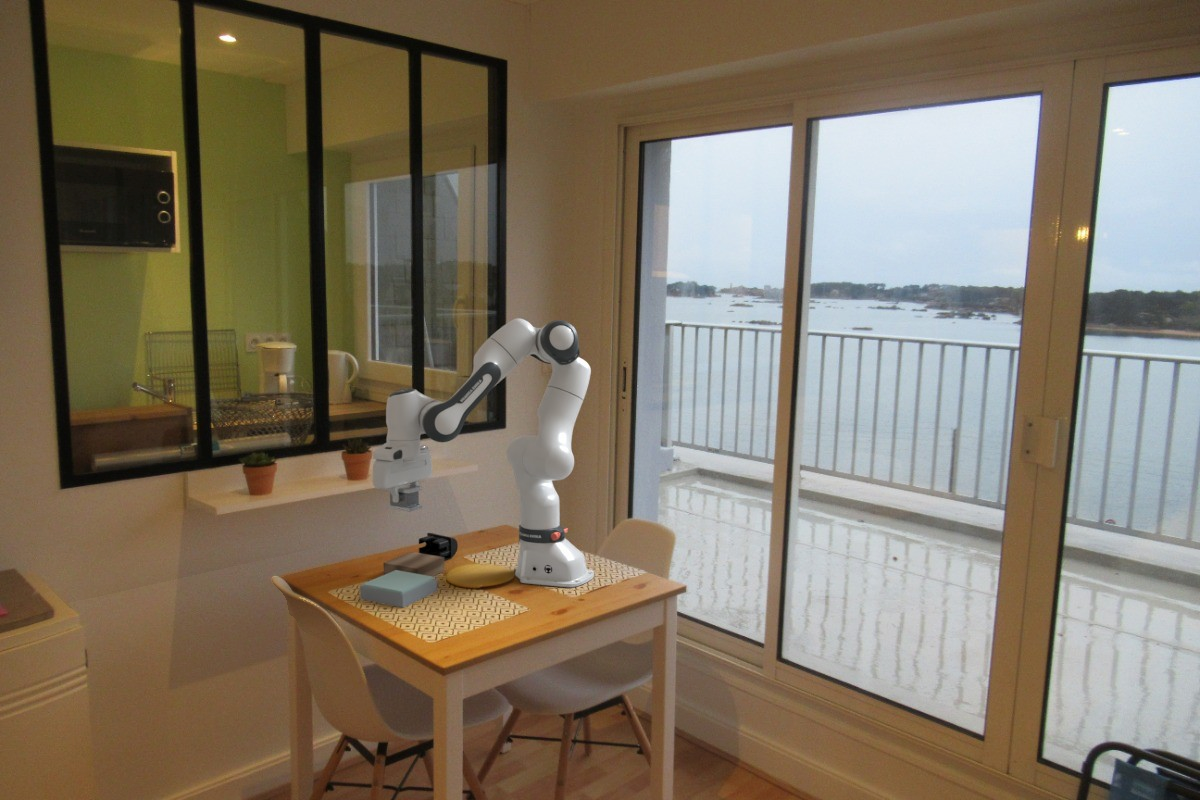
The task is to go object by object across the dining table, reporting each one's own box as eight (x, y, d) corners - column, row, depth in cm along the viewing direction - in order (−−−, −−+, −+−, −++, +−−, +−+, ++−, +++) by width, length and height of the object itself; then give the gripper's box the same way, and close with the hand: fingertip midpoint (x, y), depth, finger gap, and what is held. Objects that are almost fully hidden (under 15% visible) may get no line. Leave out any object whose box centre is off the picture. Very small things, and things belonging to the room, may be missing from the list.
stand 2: (437, 591, 226) (437, 576, 225) (402, 607, 213) (402, 592, 213) (396, 583, 232) (395, 569, 232) (360, 599, 220) (359, 584, 219)
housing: (422, 508, 230) (421, 486, 229) (409, 511, 225) (409, 489, 225) (399, 504, 234) (399, 483, 233) (386, 508, 229) (386, 486, 229)
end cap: (458, 557, 257) (458, 535, 256) (441, 563, 251) (441, 541, 250) (435, 552, 262) (434, 530, 262) (417, 557, 256) (417, 535, 256)
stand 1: (444, 570, 243) (444, 557, 243) (417, 582, 233) (417, 568, 232) (411, 565, 249) (411, 551, 248) (383, 576, 238) (383, 562, 237)
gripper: (420, 443, 238) (420, 491, 240) (368, 453, 221) (369, 505, 222) (437, 445, 235) (438, 493, 237) (386, 455, 218) (387, 508, 219)
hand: (404, 499), depth 229 cm, fingers closed on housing, 5 cm apart
